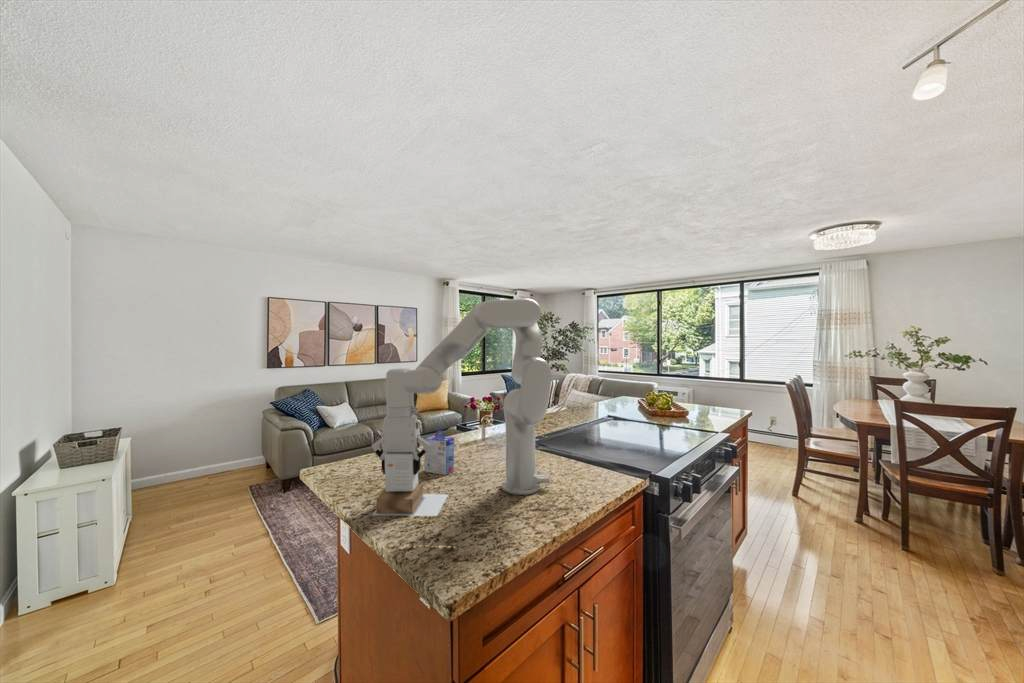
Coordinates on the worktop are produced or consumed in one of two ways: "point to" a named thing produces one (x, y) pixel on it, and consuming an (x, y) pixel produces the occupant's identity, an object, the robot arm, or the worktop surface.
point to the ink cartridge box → (439, 454)
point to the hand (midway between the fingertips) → (401, 472)
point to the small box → (400, 472)
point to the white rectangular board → (425, 506)
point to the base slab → (399, 501)
